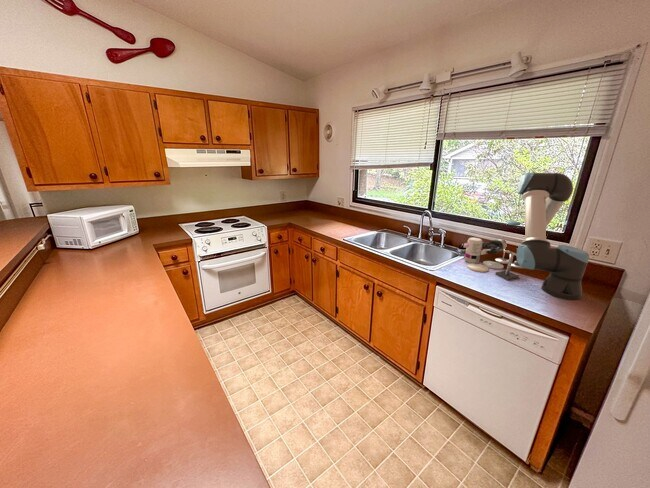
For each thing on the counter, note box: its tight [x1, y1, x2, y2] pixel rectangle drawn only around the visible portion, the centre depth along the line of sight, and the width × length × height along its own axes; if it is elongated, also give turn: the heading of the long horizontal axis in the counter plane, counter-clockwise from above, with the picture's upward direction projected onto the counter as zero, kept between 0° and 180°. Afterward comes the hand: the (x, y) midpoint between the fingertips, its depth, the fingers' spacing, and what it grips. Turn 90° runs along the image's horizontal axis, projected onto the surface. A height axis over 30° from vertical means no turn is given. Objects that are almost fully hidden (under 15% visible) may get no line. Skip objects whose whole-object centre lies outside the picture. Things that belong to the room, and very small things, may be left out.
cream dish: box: [467, 263, 490, 273], centre depth 161 cm, size 11×11×1 cm
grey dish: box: [482, 260, 504, 270], centre depth 164 cm, size 11×11×1 cm
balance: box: [494, 250, 523, 281], centre depth 147 cm, size 8×19×17 cm, turn 109°
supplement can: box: [464, 236, 483, 264], centre depth 169 cm, size 8×8×15 cm
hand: (472, 248), depth 169 cm, fingers open, 13 cm apart
